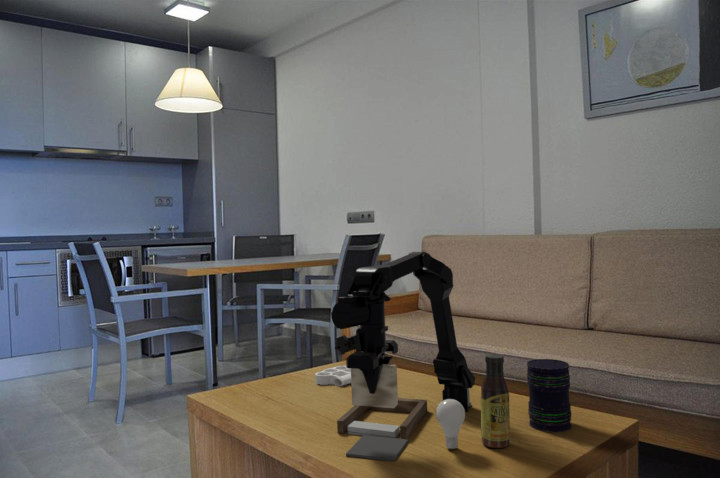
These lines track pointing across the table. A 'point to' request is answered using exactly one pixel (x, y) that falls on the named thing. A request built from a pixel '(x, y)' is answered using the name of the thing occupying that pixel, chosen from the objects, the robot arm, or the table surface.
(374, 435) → the offcut bottom
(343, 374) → the knuckle duster
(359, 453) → the mat
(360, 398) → the pale wooden block
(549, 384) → the dark blue cylinder
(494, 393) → the sauce bottle
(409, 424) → the frame
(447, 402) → the lightbulb
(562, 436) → the table surface
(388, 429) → the offcut top
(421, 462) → the table surface
